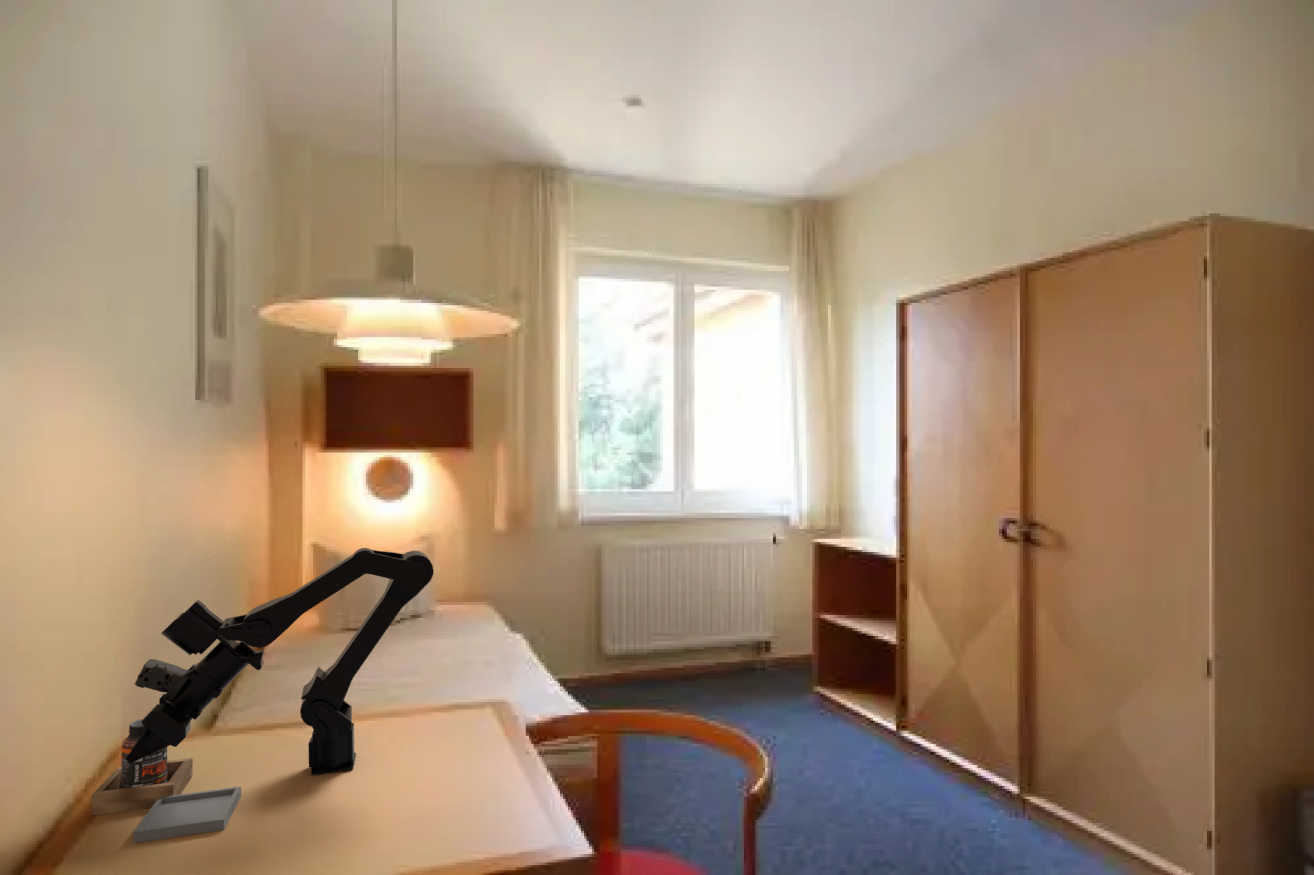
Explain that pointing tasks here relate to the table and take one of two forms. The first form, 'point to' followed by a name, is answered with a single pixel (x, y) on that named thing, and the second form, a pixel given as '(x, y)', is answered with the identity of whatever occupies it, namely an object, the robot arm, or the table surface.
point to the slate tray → (188, 814)
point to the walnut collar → (140, 789)
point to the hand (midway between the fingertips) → (133, 753)
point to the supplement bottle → (142, 762)
